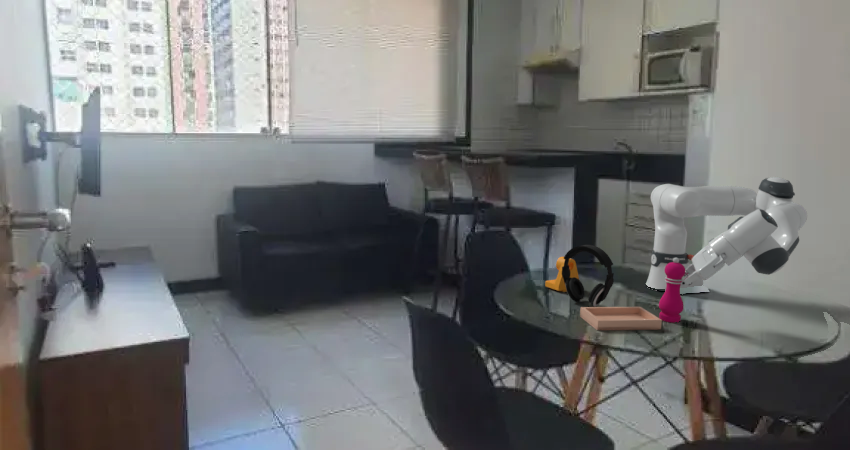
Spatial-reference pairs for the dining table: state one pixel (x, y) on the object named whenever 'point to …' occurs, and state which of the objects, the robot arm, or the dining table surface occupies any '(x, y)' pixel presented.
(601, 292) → the headphones
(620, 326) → the tray
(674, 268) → the pepper mill
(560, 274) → the bracket
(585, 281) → the dining table surface
